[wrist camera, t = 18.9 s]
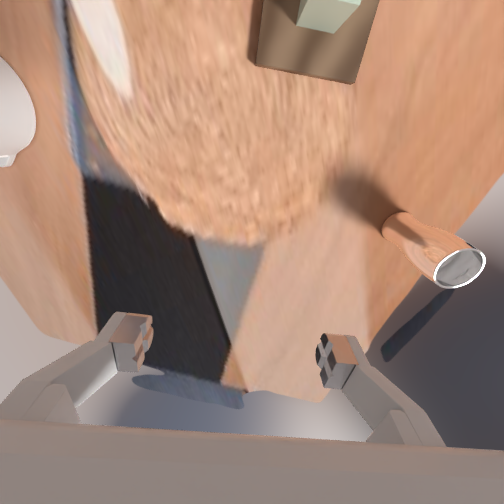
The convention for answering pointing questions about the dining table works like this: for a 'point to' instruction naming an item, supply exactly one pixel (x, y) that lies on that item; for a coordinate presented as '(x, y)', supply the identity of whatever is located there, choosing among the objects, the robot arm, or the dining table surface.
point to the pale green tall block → (325, 14)
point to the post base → (313, 42)
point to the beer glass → (434, 251)
